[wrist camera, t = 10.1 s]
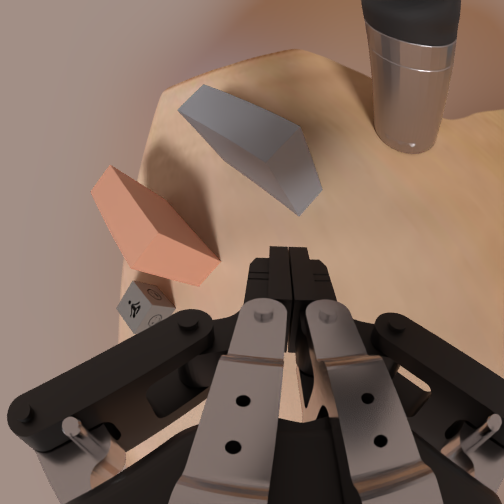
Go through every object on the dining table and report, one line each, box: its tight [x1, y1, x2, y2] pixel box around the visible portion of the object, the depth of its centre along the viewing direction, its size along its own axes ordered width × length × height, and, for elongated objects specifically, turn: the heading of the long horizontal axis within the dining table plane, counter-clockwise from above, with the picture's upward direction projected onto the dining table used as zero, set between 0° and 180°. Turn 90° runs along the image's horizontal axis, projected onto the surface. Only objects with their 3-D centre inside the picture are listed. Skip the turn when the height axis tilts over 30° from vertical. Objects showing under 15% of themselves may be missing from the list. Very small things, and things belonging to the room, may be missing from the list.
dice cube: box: [117, 281, 176, 334], centre depth 35 cm, size 5×5×5 cm
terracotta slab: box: [91, 165, 221, 286], centre depth 33 cm, size 15×4×12 cm, turn 44°
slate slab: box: [178, 85, 322, 216], centre depth 30 cm, size 15×4×12 cm, turn 45°
